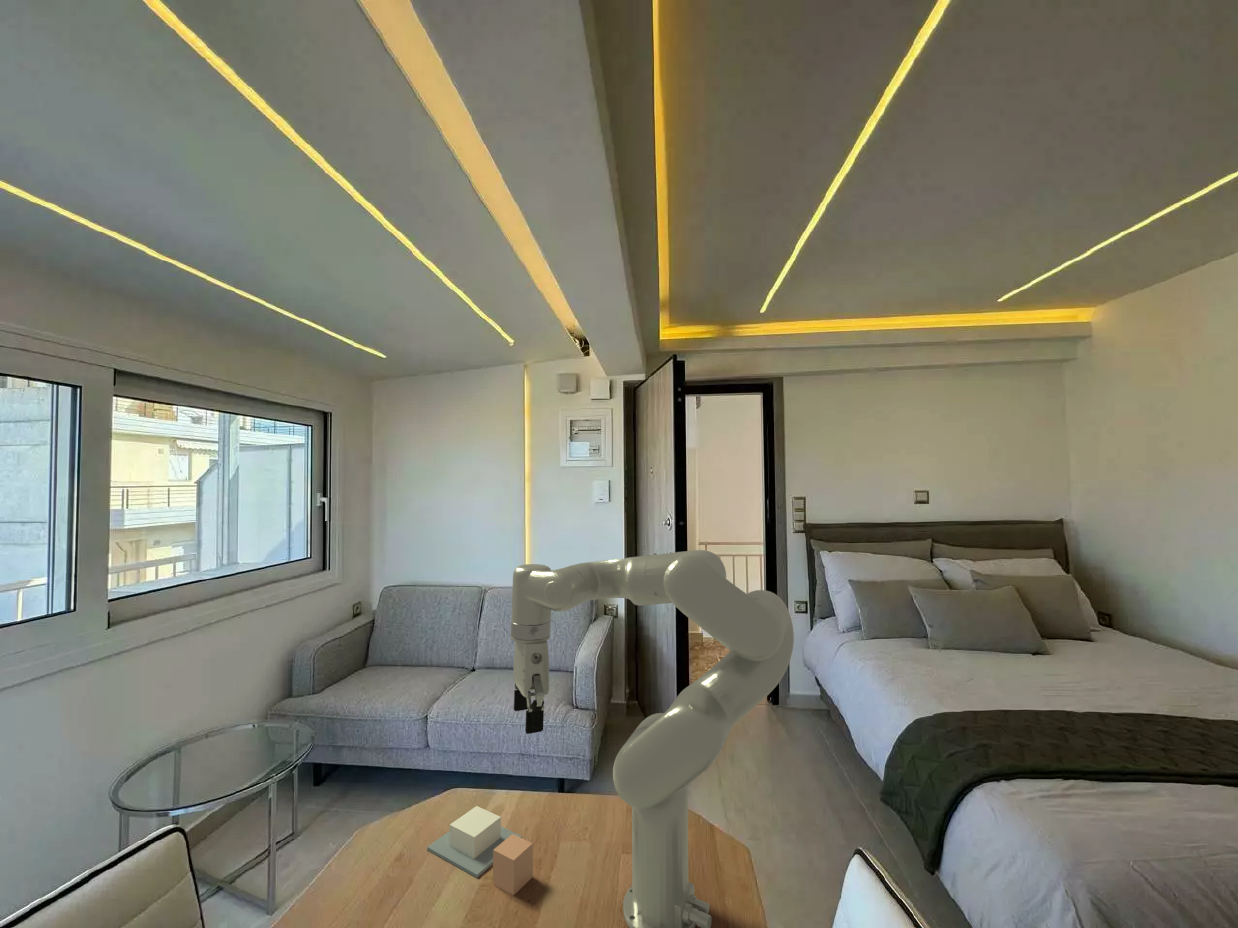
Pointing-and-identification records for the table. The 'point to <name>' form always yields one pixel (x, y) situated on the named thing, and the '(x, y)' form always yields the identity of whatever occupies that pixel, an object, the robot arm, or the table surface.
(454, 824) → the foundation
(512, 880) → the terracotta block
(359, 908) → the table surface
